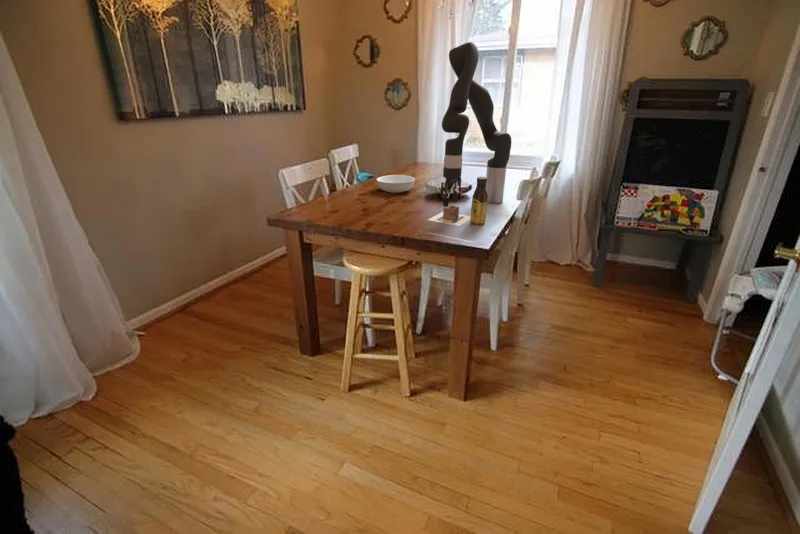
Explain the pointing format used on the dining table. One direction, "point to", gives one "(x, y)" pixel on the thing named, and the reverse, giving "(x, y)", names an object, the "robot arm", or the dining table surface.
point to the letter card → (456, 222)
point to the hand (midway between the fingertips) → (450, 204)
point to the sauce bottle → (479, 203)
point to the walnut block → (451, 212)
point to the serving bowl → (395, 183)
